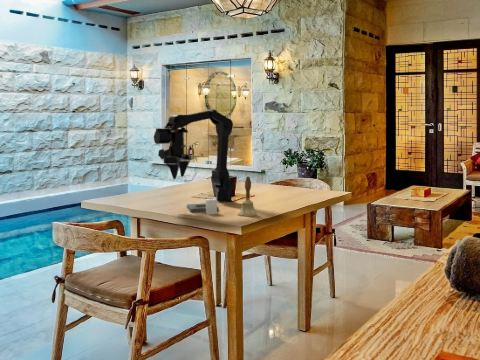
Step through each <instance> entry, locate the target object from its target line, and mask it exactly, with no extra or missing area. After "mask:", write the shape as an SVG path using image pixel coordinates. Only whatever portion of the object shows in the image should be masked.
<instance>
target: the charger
mask: <svg viewBox="0 0 480 360" xmlns="http://www.w3.org/2000/svg"><path fill="white" fill-rule="evenodd" d="M205 203H206V212H205V214H207V215H217V214H218V211H217V207H218V201H217V200H216V198H205Z"/></svg>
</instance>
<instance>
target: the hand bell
mask: <svg viewBox="0 0 480 360" xmlns="http://www.w3.org/2000/svg"><path fill="white" fill-rule="evenodd" d="M244 188H245V189H244V190H245V200H244V201H242V202H241V203H242V204H241V208H240V210H239V212H237V216H238V217H239V216H240V217H255V216H258V212H257V211H256V210H255V207H254V202H253V201H252V200H251V199H250V197H251V196H250V195H251V189H252V180H251V178H250V176H246V178H245V181H244Z"/></svg>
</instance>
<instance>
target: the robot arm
mask: <svg viewBox="0 0 480 360" xmlns="http://www.w3.org/2000/svg"><path fill="white" fill-rule="evenodd" d="M205 120H210V122H211V123H212V124H213V125H214V126H215V132H216V135H217V153H216V166H215V169H212V170H211V176H210V179H211V181H212V183H213V184H214V186H215V188H216V190H217V191H216V196H215V197H216V198H215V199H216V200H217V203H231V202H233V199H232V190H233V189H234V187H235V184H234V182H233V181H231V179H230V173H229V170H228V167H227V166H228V153H229V152H228V150H229V149H228V148H229V137H230V135H231V134H232V131H233V126H234V122H233V120H232V119H231V118H229V117H226V116H225V115H223V114H221V113H220V112H218V111H217V110H216V109H207V110H203V111H198V112H193V113H190V114H171V115H170V116H169V118H168V121H167V123H166V125H165V126H164V128H155V131H154V134H153V141H154V143H155V144H156V145H165V144H166V145H167V144H170V145H169V146H168V149H164V148H162V149H159V150H158V157H159V158H160V160H163V164H165V166H167V167H168V168H169V170H170V171H169V172H170V173H171V176H172V179H173V180H177V177H178V172H180V177H184V175H185V174H186V170H187V168H188V167H189V165H190V162H191V161H192V155H191V154H190V153H185V148H186V144H185V140H184V139H185V136H184V134H185V133H187V134H188V133H189V130H187V129H186V127H187V126H188V125H190V124H192V123H196V122H201V121H205Z"/></svg>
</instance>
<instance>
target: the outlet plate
mask: <svg viewBox="0 0 480 360" xmlns="http://www.w3.org/2000/svg"><path fill="white" fill-rule="evenodd" d="M186 208H187V209H188V211H189V212H190V213H206V202H205V203H202V202H199V203H187V204H186ZM219 210H220V209H219V207H218V206H217V212H219Z"/></svg>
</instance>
